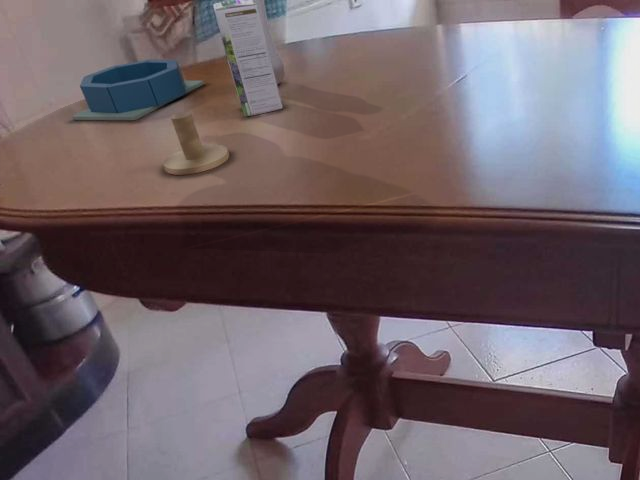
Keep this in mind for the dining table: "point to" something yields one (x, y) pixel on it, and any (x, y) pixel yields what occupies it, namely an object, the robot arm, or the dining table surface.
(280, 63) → the plastic bottle
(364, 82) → the dining table surface
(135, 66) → the blue ring
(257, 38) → the syrup box
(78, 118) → the rubber mat
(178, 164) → the dowel stand
